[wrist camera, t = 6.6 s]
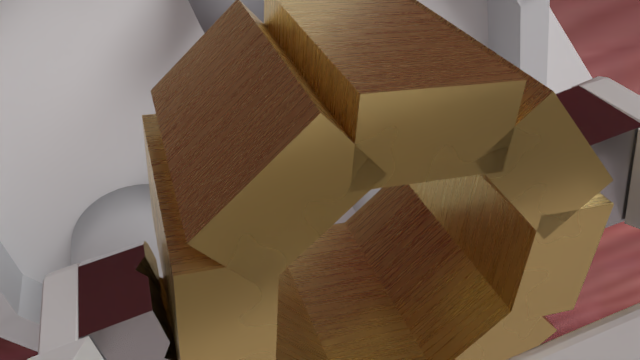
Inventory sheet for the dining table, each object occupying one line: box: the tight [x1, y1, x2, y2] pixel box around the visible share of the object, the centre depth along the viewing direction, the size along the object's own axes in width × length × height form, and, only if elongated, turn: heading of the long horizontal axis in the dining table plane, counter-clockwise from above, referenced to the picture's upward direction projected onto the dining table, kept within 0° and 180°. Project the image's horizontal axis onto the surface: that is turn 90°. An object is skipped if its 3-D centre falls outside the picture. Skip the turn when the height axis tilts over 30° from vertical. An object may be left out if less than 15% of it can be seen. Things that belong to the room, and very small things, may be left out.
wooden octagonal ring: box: [142, 0, 614, 360], centre depth 10 cm, size 6×6×4 cm
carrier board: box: [0, 0, 592, 352], centre depth 25 cm, size 26×26×6 cm
